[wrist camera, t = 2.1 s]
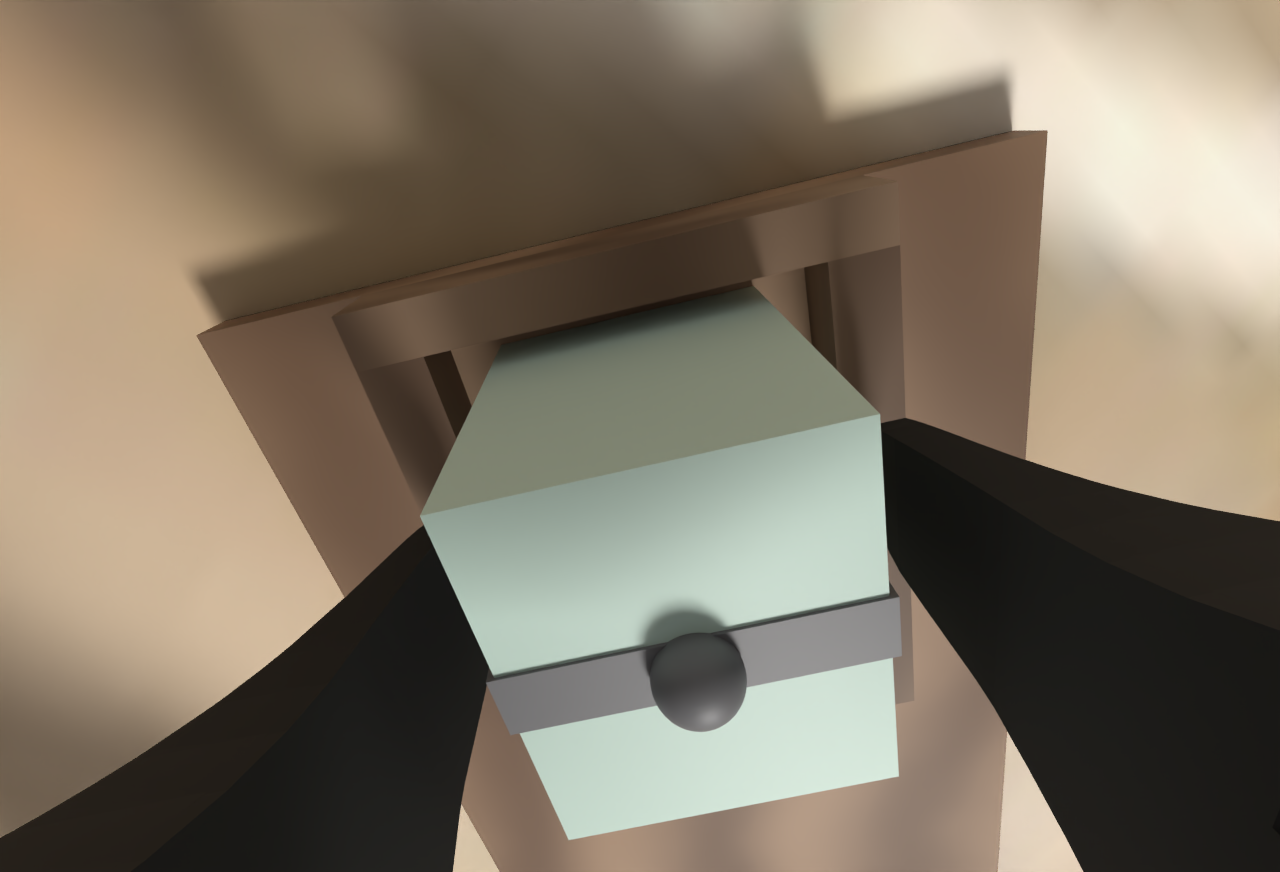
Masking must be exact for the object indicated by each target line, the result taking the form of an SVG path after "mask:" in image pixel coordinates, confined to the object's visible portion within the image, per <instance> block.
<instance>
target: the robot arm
mask: <svg viewBox="0 0 1280 872" xmlns="http://www.w3.org/2000/svg"><path fill="white" fill-rule="evenodd" d="M881 440H882V460H883V479H884V498H885V518H886V537H887V549H888V551H889V553H890V555H891V557H892V558H893V560H894V562H895V564H896V566H897V568H898V570H899V571H900V573H901V574H902V576H903V577H904V579H905V580H906V582H907V583H908V585H909V586H910V588H911V589H912V590H913V592H914V593H915V595H916V596H917V598H918V599H919V600H920V602H921V603H922V605H923V606H924V608H925V609H926V610H927V612H928V613H929V615H930V616H931V617H932V619H933V620H934V622H935V623H936V624H937V626H938V627H939V629H940V630H941V632H942V633H943V634H944V636H945V637H946V639H947V640H948V641H949V643H950V644H951V646H952V647H953V648H954V650H955V651H956V653H957V654H958V655H959V657H960V658H961V660H962V661H963V662H964V664H965V665H966V667H967V668H968V669H969V671H970V672H971V674H972V675H973V676H974V678H975V679H976V681H977V682H978V684H979V685H980V687H981V688H982V690H983V692H984V693H985V695H986V696H987V698H988V699H989V701H990V702H991V704H992V705H993V707H994V709H995V710H996V712H997V714H998V716H999V717H1000V719H1001V721H1002V723H1003V724H1004V726H1005V728H1006V730H1007V731H1008V733H1009V735H1010V737H1011V739H1012V740H1013V742H1014V744H1015V746H1016V747H1017V749H1018V751H1019V753H1020V754H1021V756H1022V758H1023V760H1024V761H1025V763H1026V765H1027V767H1028V768H1029V770H1030V772H1031V774H1032V776H1033V778H1034V779H1035V781H1036V783H1037V785H1038V787H1039V789H1040V791H1041V792H1042V794H1043V796H1044V798H1045V800H1046V802H1047V803H1048V805H1049V807H1050V809H1051V811H1052V813H1053V815H1054V816H1055V818H1056V820H1057V822H1058V824H1059V826H1060V827H1061V829H1062V831H1063V833H1064V835H1065V837H1066V839H1067V841H1068V842H1069V844H1070V846H1071V848H1072V850H1073V852H1074V854H1075V856H1076V858H1077V860H1078V862H1079V864H1080V866H1081V868H1082V870H1083V872H1280V521H1274V520H1268V519H1263V518H1257V517H1251V516H1246V515H1240V514H1234V513H1229V512H1223V511H1217V510H1212V509H1207V508H1202V507H1197V506H1192V505H1188V504H1183V503H1178V502H1174V501H1169V500H1165V499H1161V498H1157V497H1153V496H1149V495H1144V494H1140V493H1136V492H1132V491H1128V490H1124V489H1119V488H1116V487H1112V486H1108V485H1105V484H1101V483H1097V482H1094V481H1090V480H1087V479H1084V478H1081V477H1077V476H1074V475H1071V474H1067V473H1064V472H1061V471H1058V470H1054V469H1051V468H1048V467H1045V466H1042V465H1039V464H1036V463H1033V462H1030V461H1027V460H1024V459H1021V458H1018V457H1015V456H1013V455H1010V454H1007V453H1004V452H1001V451H999V450H996V449H993V448H990V447H988V446H985V445H982V444H979V443H977V442H974V441H971V440H969V439H966V438H963V437H961V436H958V435H955V434H953V433H950V432H947V431H945V430H942V429H939V428H936V427H934V426H931V425H928V424H925V423H922V422H919V421H916V420H912V419H908V418H902V419H897V420H893V421H888V422H884V423H881ZM488 670H489V665H488V663H487V661H486V659H485V657H484V655H483V652H482V650H481V648H480V646H479V644H478V642H477V639H476V637H475V635H474V633H473V631H472V628H471V626H470V624H469V622H468V620H467V618H466V615H465V613H464V611H463V609H462V607H461V605H460V602H459V600H458V598H457V596H456V594H455V591H454V589H453V587H452V585H451V583H450V581H449V578H448V576H447V574H446V572H445V570H444V568H443V565H442V563H441V561H440V559H439V557H438V554H437V552H436V550H435V548H434V546H433V544H432V541H431V539H430V537H429V535H428V533H427V530H426V528H425V526H424V525H423V526H422V527H420V528H419V529H418V530H416V531H415V532H414V533H413V534H412V535H411V536H410V537H408V538H407V539H406V540H405V541H404V542H403V543H402V544H401V545H400V546H399V547H397V548H396V549H395V550H394V551H393V552H392V553H391V554H390V555H389V556H388V557H387V558H386V559H385V560H384V561H383V562H382V563H381V564H380V565H379V566H378V567H376V568H375V569H374V570H373V571H372V572H371V573H370V574H369V575H368V576H367V577H366V578H365V579H364V580H363V581H362V582H361V583H360V584H359V585H358V586H356V587H355V588H354V589H353V590H352V591H351V592H350V593H349V594H348V595H347V596H346V597H345V598H344V599H343V600H342V601H341V602H339V603H338V604H337V605H336V606H335V607H334V608H333V609H332V610H330V611H329V612H328V613H327V614H326V615H325V616H324V617H323V618H321V619H320V620H319V621H318V622H317V623H316V624H315V625H314V626H312V627H311V628H310V629H309V630H308V631H307V632H306V633H305V634H303V635H302V636H301V637H300V638H299V639H298V640H297V641H295V642H294V643H293V644H292V645H291V646H290V647H288V648H287V649H286V650H285V651H284V652H282V653H281V654H280V655H279V656H278V657H276V658H275V659H274V660H273V661H271V662H270V663H269V664H268V665H266V666H265V667H264V668H263V669H261V670H260V671H259V672H258V673H256V674H255V675H254V676H252V677H251V678H250V679H248V680H247V681H246V682H244V683H243V684H242V685H240V686H239V687H238V688H237V689H235V690H234V691H233V692H231V693H230V694H229V695H227V696H226V697H225V698H223V699H222V700H220V701H219V702H218V703H216V704H215V705H214V706H212V707H211V708H209V709H208V710H206V711H205V712H203V713H202V714H200V715H199V716H197V717H196V718H195V719H193V720H192V721H190V722H189V723H187V724H186V725H184V726H183V727H181V728H180V729H178V730H177V731H175V732H174V733H172V734H171V735H170V736H168V737H167V738H165V739H164V740H162V741H161V742H159V743H158V744H156V745H155V746H153V747H152V748H150V749H149V750H147V751H146V752H145V753H143V754H141V755H140V756H138V757H137V758H135V759H134V760H132V761H130V762H129V763H127V764H126V765H124V766H122V767H121V768H119V769H118V770H116V771H114V772H113V773H111V774H110V775H108V776H106V777H105V778H103V779H101V780H100V781H98V782H97V783H95V784H93V785H92V786H90V787H88V788H87V789H85V790H83V791H82V792H80V793H78V794H76V795H75V796H73V797H71V798H70V799H68V800H66V801H65V802H63V803H61V804H60V805H58V806H56V807H54V808H53V809H51V810H49V811H48V812H46V813H44V814H42V815H41V816H39V817H37V818H35V819H34V820H32V821H30V822H28V823H27V824H25V825H23V826H21V827H20V828H18V829H16V830H14V831H12V832H11V833H9V834H7V835H5V836H3V837H1V838H0V872H453V864H454V856H455V848H456V839H457V831H458V823H459V815H460V808H461V802H462V797H463V791H464V786H465V781H466V776H467V772H468V767H469V763H470V758H471V754H472V750H473V745H474V741H475V736H476V732H477V727H478V723H479V719H480V714H481V710H482V705H483V701H484V696H485V692H486V687H487V684H486V680H487V675H488Z"/></svg>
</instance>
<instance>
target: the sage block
mask: <svg viewBox="0 0 1280 872" xmlns="http://www.w3.org/2000/svg"><path fill="white" fill-rule="evenodd" d="M420 517H421V520H422V522H423V524H424V526H425V528H426V530H427V533H428V535H429V537H430V539H431V541H432V544H433V546H434V548H435V550H436V552H437V554H438V557H439V559H440V561H441V563H442V565H443V568H444V570H445V572H446V574H447V576H448V578H449V581H450V583H451V585H452V587H453V589H454V591H455V594H456V596H457V598H458V600H459V602H460V605H461V607H462V609H463V611H464V613H465V615H466V618H467V620H468V622H469V624H470V626H471V628H472V631H473V633H474V635H475V637H476V639H477V642H478V644H479V646H480V648H481V650H482V652H483V655H484V657H485V659H486V661H487V663H488V665H489V670H488V675H487V680H486V684H487V686H488V688H489V690H490V692H491V695H492V697H493V699H494V701H495V703H496V705H497V707H498V709H499V712H500V714H501V716H502V718H503V720H504V722H505V724H506V726H507V729H508V731H509V733H510V735H514V734H519V733H520V735H521V737H522V739H523V742H524V744H525V746H526V748H527V750H528V753H529V755H530V757H531V759H532V761H533V763H534V766H535V768H536V770H537V772H538V774H539V776H540V779H541V781H542V783H543V785H544V787H545V790H546V792H547V794H548V796H549V798H550V800H551V803H552V805H553V807H554V809H555V811H556V813H557V816H558V818H559V820H560V822H561V824H562V827H563V829H564V831H565V833H566V835H567V837H568V840H572V839H577V838H583V837H588V836H593V835H598V834H603V833H608V832H614V831H619V830H624V829H629V828H634V827H640V826H645V825H650V824H655V823H660V822H665V821H671V820H676V819H681V818H686V817H691V816H696V815H702V814H707V813H712V812H717V811H722V810H728V809H733V808H738V807H743V806H748V805H753V804H759V803H764V802H769V801H774V800H779V799H785V798H790V797H795V796H800V795H805V794H810V793H816V792H821V791H826V790H831V789H836V788H842V787H847V786H852V785H857V784H862V783H867V782H873V781H878V780H883V779H888V778H893V777H899V769H898V750H897V731H896V711H895V692H894V672H893V658H895V657H900V656H902V645H901V621H900V598H899V595H898V594H897V592H896V591H895V589H894V588H893V586H892V585H891V583H890V581H889V576H888V556H887V537H886V518H885V498H884V479H883V460H882V440H881V421H880V413H879V412H878V411H877V410H876V409H875V408H874V407H873V406H872V405H871V404H870V403H869V402H868V401H867V400H866V399H865V398H864V397H863V396H862V395H861V394H860V393H859V392H858V391H857V390H856V389H855V388H854V387H853V386H852V385H851V384H850V383H849V382H848V381H847V380H846V379H845V378H844V377H843V376H842V375H841V374H840V373H839V372H838V371H837V370H836V369H835V368H834V367H833V366H832V365H831V364H830V363H829V362H828V361H827V360H826V359H825V358H824V357H823V356H822V355H821V354H820V353H819V352H818V350H817V349H816V348H815V347H814V346H813V345H812V344H811V343H810V342H809V341H808V340H807V339H806V338H805V337H804V336H803V335H802V334H801V333H800V332H799V331H798V330H797V329H796V328H795V327H794V326H793V325H792V324H791V323H790V322H789V321H788V320H787V319H786V318H785V317H784V316H783V315H782V314H781V313H780V312H779V311H778V310H777V309H776V308H775V307H774V306H773V305H772V304H771V303H770V302H769V301H768V300H767V299H766V298H765V297H764V296H763V295H762V294H761V293H760V292H759V291H758V290H757V289H756V288H755V287H754V286H751V287H746V288H742V289H738V290H734V291H729V292H725V293H721V294H717V295H712V296H708V297H704V298H699V299H695V300H691V301H687V302H682V303H678V304H674V305H670V306H665V307H661V308H657V309H652V310H648V311H644V312H640V313H635V314H631V315H627V316H623V317H618V318H614V319H610V320H605V321H601V322H597V323H593V324H588V325H584V326H580V327H576V328H571V329H567V330H563V331H558V332H554V333H550V334H546V335H541V336H537V337H533V338H529V339H524V340H520V341H516V342H511V343H507V344H503V345H501V347H500V349H499V351H498V353H497V355H496V357H495V359H494V361H493V363H492V366H491V368H490V370H489V372H488V374H487V376H486V378H485V380H484V382H483V384H482V387H481V389H480V391H479V393H478V395H477V397H476V399H475V401H474V403H473V405H472V408H471V410H470V412H469V414H468V416H467V418H466V420H465V422H464V424H463V426H462V429H461V431H460V433H459V435H458V437H457V439H456V441H455V443H454V445H453V447H452V450H451V452H450V454H449V456H448V458H447V460H446V462H445V464H444V466H443V468H442V471H441V473H440V475H439V477H438V479H437V481H436V483H435V485H434V487H433V489H432V492H431V494H430V496H429V498H428V500H427V502H426V504H425V506H424V508H423V510H422V513H421V515H420Z"/></svg>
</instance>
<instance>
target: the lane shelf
mask: <svg viewBox="0 0 1280 872" xmlns="http://www.w3.org/2000/svg"><path fill="white" fill-rule="evenodd" d="M1046 146H1047V131H1011V132H1006V133H1002V134H998V135H994V136H990V137H986V138H982V139H977V140H973V141H969V142H965V143H961V144H957V145H953V146H948V147H944V148H940V149H936V150H932V151H928V152H924V153H919V154H915V155H911V156H907V157H903V158H899V159H895V160H890V161H886V162H882V163H878V164H874V165H870V166H866V167H861V168H857V169H853V170H849V171H845V172H841V173H837V174H832V175H828V176H824V177H820V178H816V179H812V180H808V181H803V182H799V183H795V184H791V185H787V186H783V187H779V188H774V189H770V190H766V191H762V192H758V193H754V194H750V195H745V196H741V197H737V198H733V199H729V200H725V201H721V202H716V203H712V204H708V205H704V206H700V207H696V208H692V209H687V210H683V211H679V212H675V213H671V214H667V215H663V216H658V217H654V218H650V219H646V220H642V221H638V222H634V223H629V224H625V225H621V226H617V227H613V228H609V229H605V230H600V231H596V232H592V233H588V234H584V235H580V236H576V237H571V238H567V239H563V240H559V241H555V242H551V243H547V244H542V245H538V246H534V247H530V248H526V249H522V250H518V251H513V252H509V253H505V254H501V255H497V256H493V257H489V258H484V259H480V260H476V261H472V262H468V263H464V264H460V265H455V266H451V267H447V268H443V269H439V270H435V271H431V272H426V273H422V274H418V275H414V276H410V277H406V278H402V279H397V280H393V281H389V282H385V283H381V284H377V285H373V286H368V287H364V288H360V289H356V290H352V291H348V292H343V293H339V294H335V295H331V296H327V297H323V298H319V299H314V300H310V301H306V302H302V303H298V304H294V305H290V306H285V307H281V308H277V309H273V310H269V311H265V312H261V313H256V314H252V315H248V316H244V317H240V318H236V319H232V320H227V321H224V322H222V323H220V324H218V325H216V326H214V327H212V328H210V329H208V330H206V331H204V332H202V333H200V334H198V335H197V337H198V339H199V341H200V342H201V344H202V346H203V348H204V350H205V351H206V353H207V355H208V357H209V358H210V360H211V362H212V364H213V365H214V367H215V369H216V371H217V372H218V374H219V376H220V378H221V380H222V381H223V383H224V385H225V387H226V388H227V390H228V392H229V394H230V395H231V397H232V399H233V401H234V403H235V404H236V406H237V408H238V410H239V411H240V413H241V415H242V417H243V418H244V420H245V422H246V424H247V426H248V427H249V429H250V431H251V433H252V434H253V436H254V438H255V440H256V441H257V443H258V445H259V447H260V449H261V450H262V452H263V454H264V456H265V457H266V459H267V461H268V463H269V464H270V466H271V468H272V470H273V472H274V473H275V475H276V477H277V479H278V480H279V482H280V484H281V486H282V487H283V489H284V491H285V493H286V494H287V496H288V498H289V500H290V502H291V503H292V505H293V507H294V509H295V510H296V512H297V514H298V516H299V517H300V519H301V521H302V523H303V525H304V526H305V528H306V530H307V532H308V533H309V535H310V537H311V539H312V540H313V542H314V544H315V546H316V548H317V549H318V551H319V553H320V555H321V556H322V558H323V560H324V562H325V563H326V565H327V567H328V569H329V571H330V572H331V574H332V576H333V578H334V579H335V581H336V583H337V585H338V586H339V588H340V590H341V592H342V594H343V595H344V597H346V596H347V595H348V594H349V593H350V592H351V591H352V590H353V589H354V588H355V587H356V586H358V585H359V584H360V583H361V582H362V581H363V580H364V579H365V578H366V577H367V576H368V575H369V574H370V573H371V572H372V571H373V570H374V569H375V568H376V567H378V566H379V565H380V564H381V563H382V562H383V561H384V560H385V559H386V558H387V557H388V556H389V555H390V554H391V553H392V552H393V551H394V550H395V549H396V548H397V547H399V546H400V545H401V544H402V543H403V542H404V541H405V540H406V539H407V538H408V537H410V536H411V535H412V534H413V533H414V532H415V531H416V530H418V529H419V528H420V527H422V526H423V525H424V524H423V522H422V520H421V517H420V515H421V513H422V510H423V508H424V506H425V504H426V502H427V500H428V498H429V496H430V494H431V492H432V489H433V487H434V485H435V483H436V481H437V479H438V477H439V475H440V473H441V471H442V468H443V466H444V464H445V462H446V460H447V458H448V456H449V454H450V452H451V450H452V447H453V445H454V443H455V441H456V439H457V437H458V435H459V433H460V431H461V429H462V426H463V424H464V422H465V420H466V418H467V416H468V414H469V412H470V410H471V408H472V405H473V403H474V401H475V399H476V397H477V395H478V393H479V391H480V389H481V387H482V384H483V382H484V380H485V378H486V376H487V374H488V372H489V370H490V368H491V366H492V363H493V361H494V359H495V357H496V355H497V353H498V351H499V349H500V347H501V345H503V344H507V343H511V342H516V341H520V340H524V339H529V338H533V337H537V336H541V335H546V334H550V333H554V332H558V331H563V330H567V329H571V328H576V327H580V326H584V325H588V324H593V323H597V322H601V321H605V320H610V319H614V318H618V317H623V316H627V315H631V314H635V313H640V312H644V311H648V310H652V309H657V308H661V307H665V306H670V305H674V304H678V303H682V302H687V301H691V300H695V299H699V298H704V297H708V296H712V295H717V294H721V293H725V292H729V291H734V290H738V289H742V288H746V287H751V286H754V287H755V288H756V289H757V290H758V291H759V292H760V293H761V294H762V295H763V296H764V297H765V298H766V299H767V300H768V301H769V302H770V303H771V304H772V305H773V306H774V307H775V308H776V309H777V310H778V311H779V312H780V313H781V314H782V315H783V316H784V317H785V318H786V319H787V320H788V321H789V322H790V323H791V324H792V325H793V326H794V327H795V328H796V329H797V330H798V331H799V332H800V333H801V334H802V335H803V336H804V337H805V338H806V339H807V340H808V341H809V342H810V343H811V344H812V345H813V346H814V347H815V348H816V349H817V350H818V352H819V353H820V354H821V355H822V356H823V357H824V358H825V359H826V360H827V361H828V362H829V363H830V364H831V365H832V366H833V367H834V368H835V369H836V370H837V371H838V372H839V373H840V374H841V375H842V376H843V377H844V378H845V379H846V380H847V381H848V382H849V383H850V384H851V385H852V386H853V387H854V388H855V389H856V390H857V391H858V392H859V393H860V394H861V395H862V396H863V397H864V398H865V399H866V400H867V401H868V402H869V403H870V404H871V405H872V406H873V407H874V408H875V409H876V410H877V411H878V412H879V413H880V421H881V423H884V422H888V421H893V420H897V419H902V418H908V419H912V420H916V421H919V422H922V423H925V424H928V425H931V426H934V427H936V428H939V429H942V430H945V431H947V432H950V433H953V434H955V435H958V436H961V437H963V438H966V439H969V440H971V441H974V442H977V443H979V444H982V445H985V446H988V447H990V448H993V449H996V450H999V451H1001V452H1004V453H1007V454H1010V455H1013V456H1015V457H1018V458H1021V459H1024V460H1025V457H1026V442H1027V427H1028V412H1029V397H1030V383H1031V368H1032V353H1033V338H1034V323H1035V309H1036V294H1037V279H1038V264H1039V249H1040V234H1041V220H1042V205H1043V190H1044V175H1045V160H1046ZM887 556H888V576H889V581H890V583H891V585H892V586H893V588H894V589H895V591H896V592H897V594H898V595H899V598H900V621H901V645H902V656H900V657H895V658H893V672H894V692H895V711H896V731H897V750H898V769H899V777H893V778H888V779H883V780H878V781H873V782H867V783H862V784H857V785H852V786H847V787H842V788H836V789H831V790H826V791H821V792H816V793H810V794H805V795H800V796H795V797H790V798H785V799H779V800H774V801H769V802H764V803H759V804H753V805H748V806H743V807H738V808H733V809H728V810H722V811H717V812H712V813H707V814H702V815H696V816H691V817H686V818H681V819H676V820H671V821H665V822H660V823H655V824H650V825H645V826H640V827H634V828H629V829H624V830H619V831H614V832H608V833H603V834H598V835H593V836H588V837H583V838H577V839H572V840H568V837H567V835H566V833H565V831H564V829H563V827H562V824H561V822H560V820H559V818H558V816H557V813H556V811H555V809H554V807H553V805H552V803H551V800H550V798H549V796H548V794H547V792H546V790H545V787H544V785H543V783H542V781H541V779H540V776H539V774H538V772H537V770H536V768H535V766H534V763H533V761H532V759H531V757H530V755H529V753H528V750H527V748H526V746H525V744H524V742H523V739H522V737H521V735H520V733H519V734H514V735H510V733H509V731H508V729H507V726H506V724H505V722H504V720H503V718H502V716H501V714H500V712H499V709H498V707H497V705H496V703H495V701H494V699H493V697H492V695H491V692H490V690H489V688H488V686H487V687H486V692H485V696H484V701H483V705H482V710H481V714H480V719H479V723H478V727H477V732H476V736H475V741H474V745H473V750H472V754H471V758H470V763H469V767H468V772H467V776H466V781H465V786H464V791H463V797H462V802H461V804H462V806H463V807H464V809H465V811H466V813H467V815H468V816H469V818H470V820H471V822H472V823H473V825H474V827H475V829H476V830H477V832H478V834H479V836H480V838H481V839H482V841H483V843H484V845H485V846H486V848H487V850H488V852H489V853H490V855H491V857H492V859H493V861H494V862H495V864H496V866H497V868H498V869H499V871H500V872H997V871H998V857H999V842H1000V827H1001V812H1002V797H1003V783H1004V768H1005V753H1006V738H1007V730H1006V728H1005V726H1004V724H1003V723H1002V721H1001V719H1000V717H999V716H998V714H997V712H996V710H995V709H994V707H993V705H992V704H991V702H990V701H989V699H988V698H987V696H986V695H985V693H984V692H983V690H982V688H981V687H980V685H979V684H978V682H977V681H976V679H975V678H974V676H973V675H972V674H971V672H970V671H969V669H968V668H967V667H966V665H965V664H964V662H963V661H962V660H961V658H960V657H959V655H958V654H957V653H956V651H955V650H954V648H953V647H952V646H951V644H950V643H949V641H948V640H947V639H946V637H945V636H944V634H943V633H942V632H941V630H940V629H939V627H938V626H937V624H936V623H935V622H934V620H933V619H932V617H931V616H930V615H929V613H928V612H927V610H926V609H925V608H924V606H923V605H922V603H921V602H920V600H919V599H918V598H917V596H916V595H915V593H914V592H913V590H912V589H911V588H910V586H909V585H908V583H907V582H906V580H905V579H904V577H903V576H902V574H901V573H900V571H899V570H898V568H897V566H896V564H895V562H894V560H893V558H892V557H891V555H890V553H889V551H888V549H887Z"/></svg>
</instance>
